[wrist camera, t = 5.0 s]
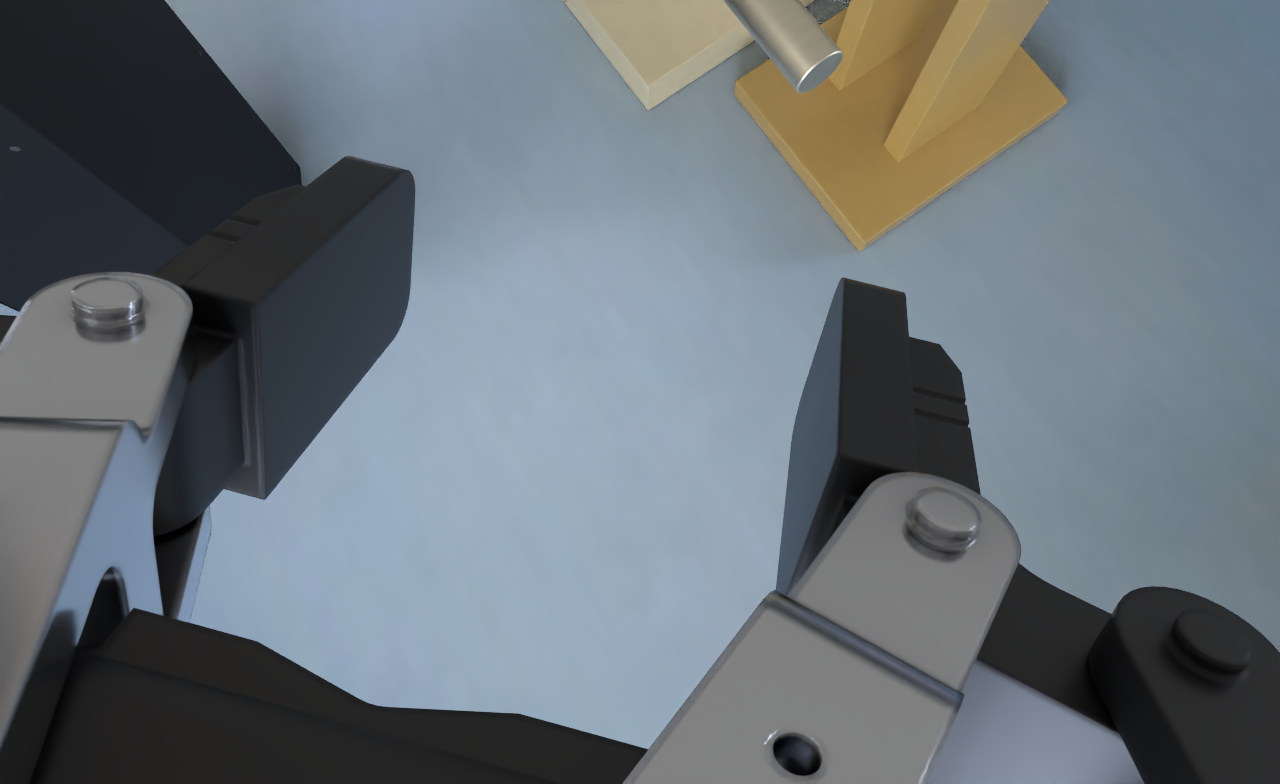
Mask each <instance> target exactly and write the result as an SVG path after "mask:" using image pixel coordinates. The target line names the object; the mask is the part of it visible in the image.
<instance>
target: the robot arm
mask: <svg viewBox="0 0 1280 784" xmlns="http://www.w3.org/2000/svg"><path fill="white" fill-rule="evenodd" d="M414 207H415V183H414V178H413V175H412V174H411V172H410V171H409V170H405V169H401V168H396V167H392V166H388V165H384V164H380V163H376V162H372V161H368V160H364V159H360V158H356V157H351V156H346V157H344V158H342V159H341V160H340V161H338V162H337V163H336V164H335V165H333V166H332V167H331V168H329V169H328V170H327V171H326V172H324V173H323V174H322V175H320V176H319V177H318V178H317V179H315V180H314V181H313V182H312V183H310V184H309V185H308V186H306V187H305V186H301V185H293V186H290V187H286V188H283V189H280V190H277V191H273V192H270V193H267V194H264V195H261V196H257V197H256V198H255V199H253V200H252V201H251V202H249V203H248V204H247V205H245V206H244V207H242V208H241V209H240V210H238V211H237V212H236V213H234V214H233V215H232V219H231V220H229V219H226V220H225V221H223V222H222V223H221V224H219V225H218V226H217V227H215V228H214V229H213V230H211V234H210V235H204V236H203V237H202V238H200V239H199V240H198V241H196V242H195V243H193V244H192V245H191V246H189V247H188V248H187V249H185V250H184V251H183V252H181V253H180V254H179V255H177V256H176V257H174V258H173V259H172V260H170V261H169V262H168V263H166V264H165V265H164V266H162V267H161V268H159V269H158V270H157V271H155V272H154V273H153V274H151V275H145V274H139V273H130V272H101V273H92V274H84V275H80V276H75V277H71V278H67V279H64V280H61V281H58V282H55V283H53V284H51V285H48V286H46V287H44V288H43V289H41V290H39V291H37V292H36V293H35V294H34V295H32V296H31V297H30V298H29V299H28V300H27V302H26V303H25V304H24V306H23V307H22V309H21V310H20V312H19V314H18V315H17V316H7V315H0V784H1280V653H1279V652H1278V650H1277V649H1276V648H1275V647H1274V646H1273V645H1272V644H1271V643H1270V642H1269V641H1268V640H1267V639H1266V638H1265V637H1264V636H1263V635H1262V634H1261V633H1260V632H1259V631H1258V630H1256V629H1255V628H1254V627H1253V626H1252V625H1250V624H1249V623H1247V622H1246V621H1245V620H1243V619H1242V618H1240V617H1239V616H1238V615H1236V614H1234V613H1233V612H1231V611H1229V610H1228V609H1226V608H1224V607H1223V606H1221V605H1218V604H1216V603H1214V602H1212V601H1210V600H1208V599H1206V598H1203V597H1201V596H1198V595H1196V594H1193V593H1189V592H1186V591H1182V590H1179V589H1173V588H1168V587H1153V586H1152V587H1143V588H1139V589H1136V590H1133V591H1131V592H1129V593H1128V594H1126V595H1125V596H1124V597H1123V598H1122V599H1121V601H1120V602H1119V603H1118V605H1117V606H1116V608H1115V610H1114V611H1113V613H1112V614H1110V613H1108V612H1106V611H1104V610H1102V609H1100V608H1098V607H1096V606H1093V605H1091V604H1089V603H1087V602H1085V601H1083V600H1081V599H1079V598H1077V597H1075V596H1073V595H1071V594H1069V593H1067V592H1065V591H1063V590H1060V589H1058V588H1057V587H1055V586H1053V585H1051V584H1049V583H1047V582H1045V581H1043V580H1042V579H1040V578H1039V577H1037V576H1036V575H1034V574H1033V573H1031V572H1030V571H1028V570H1027V569H1026V568H1024V567H1023V566H1022V565H1021V564H1019V560H1020V556H1021V545H1020V541H1019V538H1018V535H1017V533H1016V531H1015V529H1014V527H1013V526H1012V524H1011V523H1010V522H1009V520H1008V519H1007V518H1006V517H1005V516H1004V515H1003V513H1002V512H1001V511H1000V510H999V509H998V508H997V507H995V506H994V505H993V504H992V503H990V502H989V501H988V500H987V499H985V498H984V497H982V496H981V494H980V488H979V482H978V475H977V469H976V462H975V456H974V450H973V443H972V437H971V430H970V428H968V424H969V418H968V411H967V405H964V404H965V400H966V398H965V392H964V386H963V379H962V373H961V371H960V370H959V369H958V367H957V366H956V365H955V364H954V362H953V361H952V360H951V358H950V357H949V356H948V355H947V353H946V352H945V351H944V349H943V348H942V347H941V346H940V344H936V343H932V342H928V341H924V340H920V339H916V338H912V337H909V333H908V320H907V307H906V295H905V293H904V292H900V291H896V290H892V289H888V288H884V287H879V286H875V285H871V284H867V283H863V282H859V281H855V280H851V279H847V278H843V277H842V278H841V280H840V282H839V284H838V286H837V289H836V291H835V294H834V297H833V300H832V303H831V306H830V309H829V312H828V315H827V318H826V321H825V325H824V328H823V331H822V334H821V337H820V340H819V343H818V346H817V349H816V352H815V355H814V359H813V362H812V365H811V368H810V371H809V374H808V377H807V380H806V383H805V386H804V390H803V393H802V396H801V400H800V403H799V407H798V411H797V415H796V420H795V424H794V429H793V435H792V442H791V451H790V461H789V470H788V480H787V489H786V499H785V508H784V518H783V527H782V537H781V546H780V556H779V565H778V575H777V584H776V590H774V591H772V592H771V593H769V594H768V595H767V596H766V597H765V598H764V599H763V601H762V602H761V603H760V604H759V606H758V607H757V608H756V609H755V611H754V612H753V613H752V615H751V616H750V617H749V619H748V620H747V621H746V622H745V624H744V625H743V626H742V628H741V629H740V630H739V632H738V633H737V634H736V636H735V637H734V638H733V640H732V641H731V642H730V643H729V645H728V646H727V647H726V649H725V650H724V651H723V653H722V654H721V655H720V657H719V658H718V659H717V660H716V662H715V663H714V664H713V666H712V667H711V668H710V670H709V671H708V672H707V674H706V675H705V676H704V678H703V679H702V680H701V681H700V683H699V684H698V685H697V687H696V688H695V689H694V691H693V692H692V693H691V695H690V696H689V697H688V698H687V700H686V701H685V702H684V704H683V705H682V706H681V708H680V709H679V710H678V712H677V713H676V714H675V715H674V717H673V718H672V719H671V721H670V722H669V723H668V725H667V726H666V727H665V729H664V730H663V731H662V733H661V734H660V735H659V736H658V738H657V739H656V740H655V742H654V743H653V744H652V746H651V747H650V748H649V750H648V749H645V748H641V747H637V746H634V745H630V744H627V743H623V742H619V741H616V740H612V739H608V738H605V737H601V736H598V735H594V734H590V733H587V732H583V731H579V730H576V729H572V728H569V727H565V726H561V725H558V724H554V723H550V722H547V721H543V720H540V719H536V718H532V717H529V716H525V715H521V714H513V713H493V712H474V711H454V710H434V709H414V708H395V707H382V706H376V705H373V704H369V703H367V702H364V701H362V700H360V699H358V698H356V697H355V696H353V695H351V694H349V693H348V692H346V691H344V690H342V689H340V688H339V687H337V686H335V685H333V684H332V683H330V682H328V681H326V680H324V679H323V678H321V677H319V676H317V675H316V674H314V673H312V672H310V671H308V670H307V669H305V668H303V667H301V666H300V665H298V664H296V663H294V662H293V661H291V660H289V659H287V658H285V657H284V656H282V655H280V654H278V653H277V652H275V651H273V650H271V649H269V648H268V647H266V646H264V645H262V644H261V643H259V642H257V641H253V640H250V639H246V638H242V637H239V636H235V635H231V634H228V633H224V632H221V631H217V630H213V629H210V628H206V627H202V626H199V625H195V624H192V623H190V619H191V615H192V611H193V607H194V603H195V598H196V594H197V590H198V586H199V581H200V577H201V573H202V569H203V564H204V560H205V556H206V552H207V548H208V543H209V539H210V535H211V515H210V504H211V503H212V502H213V500H214V499H215V498H216V497H217V496H218V495H219V493H220V492H221V491H222V490H223V489H226V490H230V491H233V492H237V493H241V494H245V495H248V496H252V497H256V498H260V499H263V500H265V499H266V498H267V497H268V496H269V494H270V493H271V492H272V491H273V489H274V488H275V487H276V486H277V484H278V483H279V482H280V481H281V479H282V478H283V477H284V476H285V474H286V473H287V472H288V471H289V469H290V468H291V467H292V466H293V464H294V463H295V462H296V461H297V459H298V458H299V457H300V456H301V454H302V453H303V452H304V451H305V449H306V448H307V447H308V446H309V444H310V443H311V442H312V441H313V439H314V438H315V437H316V436H317V434H318V433H319V432H320V431H321V429H322V428H323V427H324V426H325V424H326V423H327V422H328V421H329V419H330V418H331V417H332V416H333V414H334V413H335V412H336V411H337V409H338V408H339V407H340V406H341V404H342V403H343V402H344V401H345V399H346V398H347V397H348V396H349V394H350V393H351V392H352V391H353V389H354V388H355V387H356V386H357V384H358V383H359V382H360V381H361V379H362V378H363V377H364V376H365V374H366V373H367V372H368V371H369V369H370V368H371V367H372V366H373V364H374V363H375V362H376V361H377V359H378V358H379V357H380V356H381V354H382V353H383V352H384V351H385V349H386V348H387V347H388V346H389V344H390V343H391V342H392V341H393V339H394V338H395V336H396V335H397V333H398V331H399V329H400V327H401V325H402V322H403V319H404V316H405V313H406V309H407V305H408V301H409V294H410V283H411V264H412V245H413V226H414Z"/></svg>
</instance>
